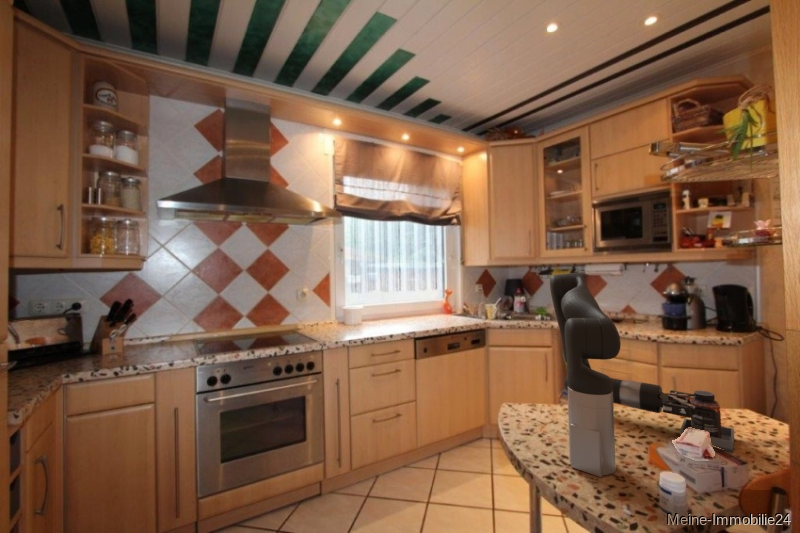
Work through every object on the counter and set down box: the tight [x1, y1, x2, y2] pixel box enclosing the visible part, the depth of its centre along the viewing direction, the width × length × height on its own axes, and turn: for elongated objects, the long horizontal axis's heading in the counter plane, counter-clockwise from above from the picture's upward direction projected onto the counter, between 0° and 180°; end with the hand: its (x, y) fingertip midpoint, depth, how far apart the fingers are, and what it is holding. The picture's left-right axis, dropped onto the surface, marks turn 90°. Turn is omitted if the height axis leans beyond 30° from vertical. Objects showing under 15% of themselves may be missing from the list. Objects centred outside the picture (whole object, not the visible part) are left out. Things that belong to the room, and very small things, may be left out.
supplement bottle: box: [690, 390, 722, 439], centre depth 92 cm, size 6×6×11 cm
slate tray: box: [679, 418, 735, 453], centre depth 92 cm, size 10×10×2 cm
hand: (717, 410), depth 90 cm, fingers open, 7 cm apart
